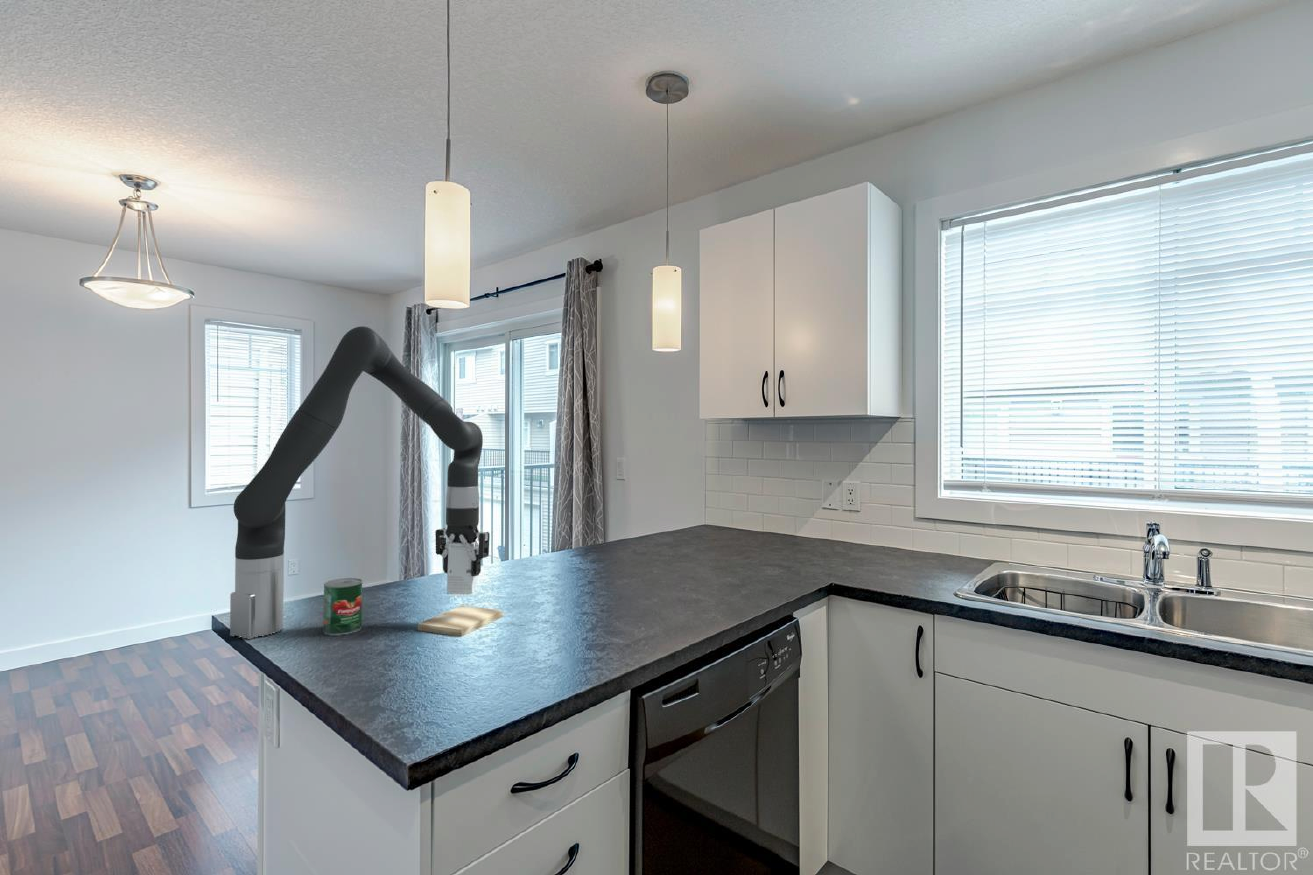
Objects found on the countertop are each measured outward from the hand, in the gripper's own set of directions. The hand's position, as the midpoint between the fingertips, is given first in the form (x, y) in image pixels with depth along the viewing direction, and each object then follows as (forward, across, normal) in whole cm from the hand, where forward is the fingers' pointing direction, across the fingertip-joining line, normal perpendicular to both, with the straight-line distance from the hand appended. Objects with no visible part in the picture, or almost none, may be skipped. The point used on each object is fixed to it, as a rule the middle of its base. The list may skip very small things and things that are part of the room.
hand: (461, 574), depth 146 cm
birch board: (+12, 0, 0) cm, 12 cm away
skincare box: (+5, 0, 0) cm, 5 cm away
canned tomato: (+12, -22, -14) cm, 29 cm away
